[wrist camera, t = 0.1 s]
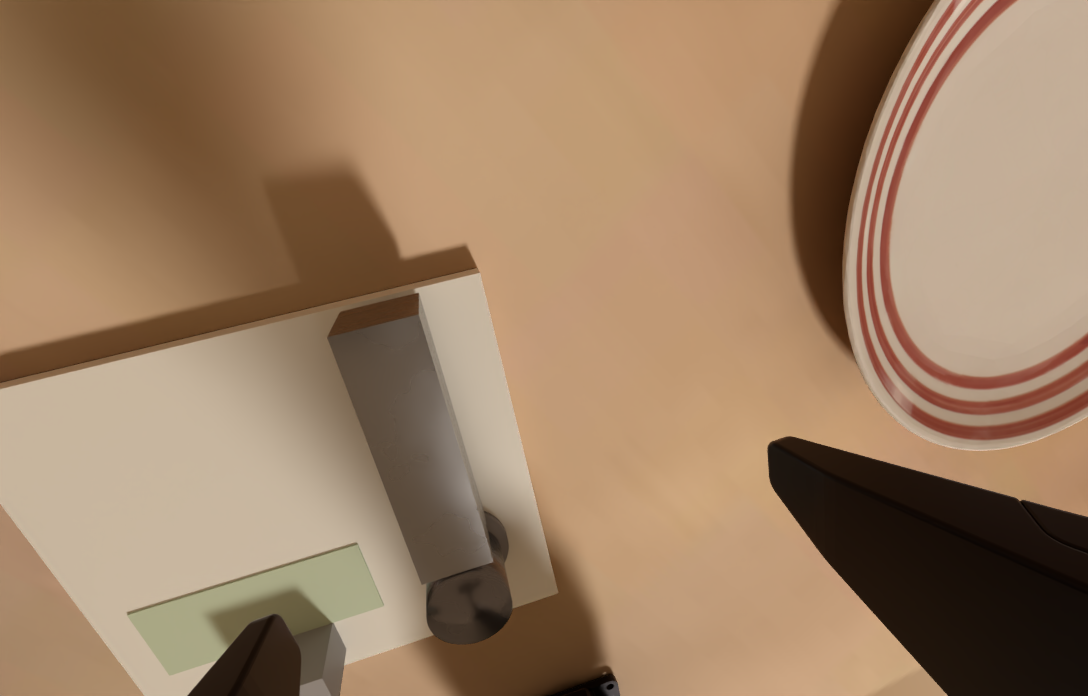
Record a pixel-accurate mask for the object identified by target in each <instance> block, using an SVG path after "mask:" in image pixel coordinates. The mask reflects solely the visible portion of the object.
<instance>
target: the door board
mask: <svg viewBox="0 0 1088 696" xmlns="http://www.w3.org/2000/svg"><path fill="white" fill-rule="evenodd" d="M415 293H419V295H420V298H421V301H422V305H423V308H424V311H425V315H426V318H427V321H428V325H429V328H430V332H431V335H432V338H433V342H434V345H435V348H436V352H437V355H438V359H439V362H440V365H441V369H442V372H443V375H444V379H445V382H446V385H447V389H448V392H449V396H450V399H451V402H452V406H453V409H454V412H455V416H456V419H457V423H458V426H459V429H460V433H461V436H462V439H463V443H464V446H465V449H466V453H467V456H468V460H469V463H470V466H471V470H472V473H473V476H474V480H475V483H476V487H477V490H478V493H479V497H480V500H481V503H482V507H483V510H484V513H485V518H486V523H487V529H488V531H489V532H491V533H492V534H493V535H494V536H495V537H496V538H497V539H498V541H499V543H500V545H501V550H502V554H503V559H504V564H505V569H506V574H507V578H508V583H509V588H510V593H511V597H512V605H513V607H512V609H513V608H516V607H519V606H522V605H525V604H528V603H531V602H534V601H537V600H540V599H543V598H546V597H549V596H552V595H555V594H558V589H557V585H556V581H555V577H554V573H553V569H552V565H551V561H550V557H549V552H548V548H547V544H546V540H545V536H544V532H543V528H542V524H541V520H540V516H539V512H538V508H537V504H536V499H535V495H534V491H533V487H532V483H531V479H530V475H529V471H528V467H527V463H526V459H525V455H524V450H523V446H522V442H521V438H520V434H519V430H518V426H517V422H516V418H515V414H514V410H513V406H512V401H511V397H510V393H509V389H508V385H507V381H506V377H505V373H504V369H503V365H502V361H501V357H500V353H499V348H498V344H497V340H496V336H495V332H494V328H493V324H492V320H491V316H490V312H489V308H488V304H487V299H486V295H485V291H484V287H483V283H482V279H481V275H480V272H479V270H478V268H475V269H471V270H467V271H462V272H458V273H454V274H450V275H446V276H442V277H438V278H433V279H429V280H425V281H421V282H417V283H413V284H409V285H404V286H400V287H396V288H392V289H388V290H384V291H379V292H375V293H371V294H367V295H363V296H359V297H355V298H350V299H346V300H342V301H338V302H334V303H330V304H326V305H321V306H317V307H313V308H309V309H305V310H301V311H297V312H292V313H288V314H284V315H280V316H276V317H272V318H267V319H263V320H259V321H255V322H251V323H247V324H243V325H238V326H234V327H230V328H226V329H222V330H218V331H214V332H209V333H205V334H201V335H197V336H193V337H189V338H185V339H180V340H176V341H172V342H168V343H164V344H160V345H155V346H151V347H147V348H143V349H139V350H135V351H131V352H126V353H122V354H118V355H114V356H110V357H106V358H102V359H97V360H93V361H89V362H85V363H81V364H77V365H73V366H68V367H64V368H60V369H56V370H52V371H48V372H43V373H39V374H35V375H31V376H27V377H23V378H19V379H14V380H10V381H6V382H2V383H0V504H1V505H2V507H3V508H4V509H5V511H6V512H7V513H8V515H9V516H10V517H11V519H12V520H13V521H14V523H15V524H16V525H17V527H18V528H19V529H20V531H21V532H22V533H23V535H24V536H25V537H26V539H27V540H28V541H29V543H30V544H31V545H32V547H33V548H34V549H35V551H36V552H37V553H38V555H39V556H40V557H41V559H42V560H43V561H44V563H45V564H46V565H47V567H48V568H49V569H50V571H51V572H52V573H53V575H54V576H55V577H56V579H57V580H58V581H59V583H60V584H61V585H62V587H63V588H64V589H65V591H66V592H67V593H68V595H69V596H70V597H71V599H72V600H73V601H74V603H75V604H76V605H77V607H78V608H79V609H80V611H81V612H82V613H83V615H84V616H85V617H86V619H87V620H88V621H89V623H90V624H91V625H92V627H93V628H94V629H95V631H96V632H97V633H98V635H99V636H100V637H101V639H102V640H103V641H104V643H105V644H106V645H107V647H108V648H109V649H110V650H111V652H112V653H113V654H114V656H115V657H116V658H117V660H118V661H119V662H120V664H121V665H122V666H123V668H124V669H125V670H126V672H127V673H128V674H129V676H130V677H131V678H132V680H133V681H134V682H135V684H136V685H137V686H138V688H139V689H140V690H141V692H142V693H143V694H144V696H187V695H188V694H189V693H190V692H191V691H192V689H193V688H194V687H195V686H196V685H197V684H198V682H199V681H200V680H201V679H202V678H203V676H204V675H205V674H206V673H207V672H208V671H209V669H210V668H211V667H212V666H213V665H214V664H215V662H216V661H217V660H218V659H219V658H220V657H221V655H222V654H223V653H224V652H225V651H226V650H227V648H228V647H229V646H230V645H231V644H232V643H233V641H234V640H235V639H236V638H237V637H238V635H239V634H240V633H241V632H242V631H243V630H244V628H245V627H246V626H247V625H248V624H249V623H250V622H252V621H254V620H256V619H259V618H262V617H265V616H268V615H271V614H278V615H280V616H281V617H282V618H283V620H284V621H285V623H286V625H287V626H288V628H289V630H290V631H291V633H292V635H293V636H294V638H295V640H296V641H297V643H298V645H299V648H300V651H301V679H300V696H340V690H341V683H342V676H343V669H344V665H347V664H350V663H353V662H356V661H359V660H362V659H365V658H368V657H371V656H374V655H377V654H380V653H383V652H386V651H389V650H392V649H395V648H398V647H400V646H403V645H406V644H409V643H412V642H415V641H418V640H421V639H424V638H427V637H430V636H433V635H434V634H433V633H432V632H431V631H430V629H429V627H428V624H427V619H426V584H423V585H422V584H421V582H420V579H419V577H418V574H417V571H416V569H415V566H414V563H413V561H412V558H411V556H410V553H409V550H408V548H407V545H406V543H405V540H404V537H403V535H402V532H401V530H400V527H399V524H398V522H397V519H396V516H395V514H394V511H393V509H392V506H391V503H390V501H389V498H388V496H387V493H386V490H385V488H384V485H383V483H382V480H381V477H380V475H379V472H378V469H377V467H376V464H375V462H374V459H373V456H372V454H371V451H370V449H369V446H368V443H367V441H366V438H365V435H364V433H363V430H362V428H361V425H360V422H359V420H358V417H357V415H356V412H355V409H354V407H353V404H352V402H351V399H350V396H349V394H348V391H347V388H346V386H345V383H344V381H343V378H342V375H341V373H340V370H339V368H338V365H337V362H336V360H335V357H334V355H333V352H332V349H331V347H330V344H329V341H328V339H327V336H328V334H329V332H330V330H331V328H332V326H333V324H334V323H335V321H336V319H337V317H338V315H339V313H340V312H341V311H345V310H349V309H353V308H357V307H361V306H365V305H370V304H374V303H378V302H382V301H386V300H390V299H394V298H398V297H402V296H406V295H411V294H415Z"/></svg>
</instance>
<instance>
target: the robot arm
mask: <svg viewBox="0 0 1088 696" xmlns="http://www.w3.org/2000/svg"><path fill="white" fill-rule="evenodd" d="M768 466H769V479H770V483H771V485H772V487H773V489H774V491H775V492H776V494H777V495H778V496H779V498H780V499H781V500H782V502H783V503H784V504H785V506H786V507H787V508H788V510H789V511H790V513H791V514H792V515H793V517H794V518H795V519H796V521H797V522H798V523H799V525H800V526H801V527H802V529H803V530H804V532H805V533H806V534H807V536H808V537H809V538H810V540H811V541H812V542H813V544H814V545H815V546H816V548H817V549H818V550H819V552H820V553H821V554H822V556H823V557H824V558H825V559H826V560H827V562H828V563H829V564H830V565H831V566H832V567H833V569H834V570H835V571H836V572H837V573H838V574H839V575H840V576H841V577H842V579H843V580H844V581H845V582H846V583H847V584H848V585H849V586H850V587H851V589H852V590H853V591H854V592H855V593H856V594H857V595H858V596H859V597H860V599H861V600H862V601H863V602H864V603H865V604H866V605H867V606H868V607H869V609H870V610H871V611H872V612H873V613H874V614H875V615H876V616H877V617H878V619H879V620H880V621H881V622H882V623H883V624H884V625H885V626H886V627H887V629H888V630H889V631H890V632H891V633H892V634H893V635H894V636H895V637H896V638H897V640H898V641H899V642H900V643H901V644H902V645H903V646H904V647H905V648H906V650H907V651H908V652H909V653H910V654H911V655H912V656H913V657H914V658H915V660H916V661H917V662H918V663H919V664H920V665H921V666H922V667H923V668H924V670H925V671H926V672H927V673H928V674H929V675H930V676H931V677H932V678H933V679H934V681H935V682H936V683H937V684H938V685H939V686H940V687H941V688H942V689H943V691H944V692H945V693H946V694H947V695H948V696H1088V517H1086V516H1082V515H1078V514H1074V513H1070V512H1066V511H1063V510H1059V509H1055V508H1051V507H1048V506H1044V505H1040V504H1037V503H1033V502H1030V501H1026V500H1021V501H1019V500H1018V499H1017V498H1015V497H1011V496H1007V495H1004V494H1000V493H996V492H993V491H989V490H985V489H982V488H978V487H974V486H971V485H967V484H963V483H960V482H956V481H952V480H949V479H945V478H942V477H938V476H934V475H931V474H927V473H923V472H920V471H916V470H912V469H909V468H905V467H901V466H898V465H894V464H890V463H887V462H883V461H879V460H876V459H872V458H869V457H865V456H861V455H858V454H854V453H850V452H847V451H843V450H839V449H836V448H832V447H828V446H825V445H821V444H817V443H814V442H810V441H806V440H803V439H799V438H796V437H791V436H788V437H784V438H781V439H778V440H775V441H772V442H771V443H770V444H769V445H768ZM300 679H301V651H300V648H299V645H298V643H297V641H296V640H295V638H294V636H293V635H292V633H291V631H290V630H289V628H288V626H287V625H286V623H285V621H284V620H283V618H282V617H281V616H280V615H278V614H271V615H268V616H265V617H262V618H259V619H256V620H254V621H252V622H250V623H249V624H248V625H247V626H246V627H245V628H244V630H243V631H242V632H241V633H240V634H239V635H238V637H237V638H236V639H235V640H234V641H233V643H232V644H231V645H230V646H229V647H228V648H227V650H226V651H225V652H224V653H223V654H222V655H221V657H220V658H219V659H218V660H217V661H216V662H215V664H214V665H213V666H212V667H211V668H210V669H209V671H208V672H207V673H206V674H205V675H204V676H203V678H202V679H201V680H200V681H199V682H198V684H197V685H196V686H195V687H194V688H193V689H192V691H191V692H190V693H189V694H188V695H187V696H300ZM552 696H620V693H619V688H618V683H617V681H616V678H615V676H613V675H607V676H604V677H602V678H599V679H596V680H593V681H591V682H588V683H585V684H583V685H580V686H577V687H574V688H572V689H569V690H566V691H563V692H561V693H558V694H555V695H552Z"/></svg>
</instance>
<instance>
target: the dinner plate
mask: <svg viewBox="0 0 1088 696" xmlns="http://www.w3.org/2000/svg"><path fill="white" fill-rule="evenodd" d="M842 280H843V305H844V313H845V319H846V325H847V330H848V335H849V339H850V343H851V346H852V350H853V354H854V356H855V359H856V362H857V365H858V367H859V369H860V371H861V374H862V376H863V378H864V380H865V382H866V384H867V385H868V387H869V389H870V390H871V392H872V394H873V395H874V397H875V398H876V399H877V401H878V402H879V403H880V405H881V406H882V407H883V408H884V409H885V410H886V411H887V412H888V413H889V414H890V415H891V416H892V417H893V418H894V419H895V420H896V421H897V422H898V423H900V424H901V425H902V426H904V427H905V428H906V429H908V430H909V431H911V432H912V433H914V434H916V435H917V436H919V437H921V438H923V439H925V440H927V441H930V442H932V443H935V444H938V445H941V446H945V447H949V448H954V449H961V450H974V451H987V450H998V449H1006V448H1011V447H1016V446H1020V445H1024V444H1028V443H1031V442H1034V441H1037V440H1040V439H1042V438H1045V437H1047V436H1050V435H1052V434H1055V433H1057V432H1059V431H1061V430H1063V429H1065V428H1068V427H1070V426H1072V425H1074V424H1076V423H1078V422H1080V421H1081V420H1083V419H1084V418H1086V417H1088V0H934V2H933V3H932V5H931V6H930V8H929V9H928V11H927V13H926V14H925V16H924V17H923V19H922V20H921V22H920V24H919V25H918V27H917V29H916V31H915V32H914V34H913V36H912V38H911V39H910V41H909V43H908V45H907V46H906V48H905V50H904V52H903V54H902V56H901V58H900V60H899V62H898V64H897V66H896V68H895V70H894V72H893V74H892V76H891V78H890V80H889V82H888V85H887V87H886V89H885V92H884V94H883V96H882V99H881V101H880V103H879V105H878V108H877V110H876V113H875V115H874V118H873V121H872V124H871V127H870V130H869V132H868V135H867V138H866V141H865V144H864V147H863V151H862V154H861V158H860V161H859V165H858V168H857V172H856V177H855V181H854V185H853V189H852V193H851V198H850V203H849V208H848V213H847V221H846V229H845V237H844V248H843V261H842Z"/></svg>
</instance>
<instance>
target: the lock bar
mask: <svg viewBox="0 0 1088 696" xmlns="http://www.w3.org/2000/svg"><path fill="white" fill-rule="evenodd" d="M327 339H328V341H329V344H330V347H331V349H332V352H333V355H334V357H335V360H336V362H337V365H338V368H339V370H340V373H341V375H342V378H343V381H344V383H345V386H346V388H347V391H348V394H349V396H350V399H351V402H352V404H353V407H354V409H355V412H356V415H357V417H358V420H359V422H360V425H361V428H362V430H363V433H364V435H365V438H366V441H367V443H368V446H369V449H370V451H371V454H372V456H373V459H374V462H375V464H376V467H377V469H378V472H379V475H380V477H381V480H382V483H383V485H384V488H385V490H386V493H387V496H388V498H389V501H390V503H391V506H392V509H393V511H394V514H395V516H396V519H397V522H398V524H399V527H400V530H401V532H402V535H403V537H404V540H405V543H406V545H407V548H408V550H409V553H410V556H411V558H412V561H413V563H414V566H415V569H416V571H417V574H418V577H419V579H420V582H421V584H422V585H423V584H426V619H427V624H428V627H429V629H430V631H431V632H432V633H433V634H434V635H435V636H436V637H437V638H439V639H441V640H443V641H445V642H448V643H452V644H471V643H476V642H479V641H482V640H485V639H487V638H489V637H491V636H492V635H494V634H495V633H497V632H498V631H499V630H500V629H501V628H502V627H503V626H504V625H505V624H506V622H507V621H508V619H509V617H510V615H511V612H512V607H513V605H512V597H511V593H510V588H509V583H508V578H507V574H506V569H505V564H504V559H503V554H502V550H501V545H500V543H499V541H498V539H497V538H496V537H495V536H494V535H493V534H492V533H491V532H489V531H488V529H487V523H486V518H485V513H484V510H483V507H482V503H481V500H480V497H479V493H478V490H477V487H476V483H475V480H474V476H473V473H472V470H471V466H470V463H469V460H468V456H467V453H466V449H465V446H464V443H463V439H462V436H461V433H460V429H459V426H458V423H457V419H456V416H455V412H454V409H453V406H452V402H451V399H450V396H449V392H448V389H447V385H446V382H445V379H444V375H443V372H442V369H441V365H440V362H439V359H438V355H437V352H436V348H435V345H434V342H433V338H432V335H431V332H430V328H429V325H428V321H427V318H426V315H425V311H424V308H423V305H422V301H421V298H420V295H419V293H415V294H411V295H406V296H402V297H398V298H394V299H390V300H386V301H382V302H378V303H374V304H370V305H365V306H361V307H357V308H353V309H349V310H345V311H341V312H340V313H339V315H338V317H337V319H336V321H335V323H334V324H333V326H332V328H331V330H330V332H329V334H328V336H327Z"/></svg>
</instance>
